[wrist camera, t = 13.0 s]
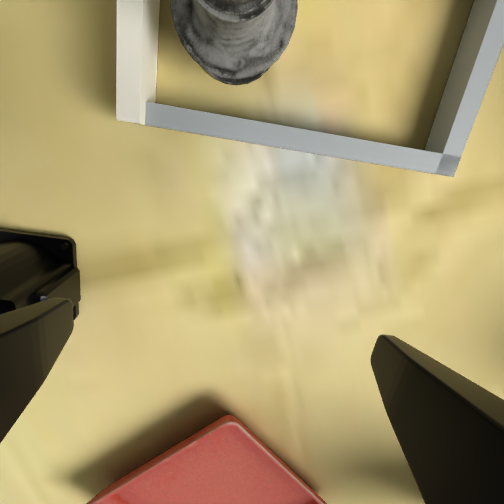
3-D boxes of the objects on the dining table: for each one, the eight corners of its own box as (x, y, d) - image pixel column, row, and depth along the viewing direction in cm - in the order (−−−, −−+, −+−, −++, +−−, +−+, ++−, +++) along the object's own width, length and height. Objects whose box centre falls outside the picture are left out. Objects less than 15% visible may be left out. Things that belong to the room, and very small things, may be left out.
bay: (134, 123, 18) (116, 119, 16) (140, -125, 15) (117, -188, 12) (433, 173, 20) (465, 178, 18) (507, -35, 17) (561, -71, 14)
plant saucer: (336, 490, 32) (346, 527, 29) (205, 556, 35) (202, 596, 32) (232, 387, 27) (232, 419, 23) (89, 476, 30) (72, 515, 27)
